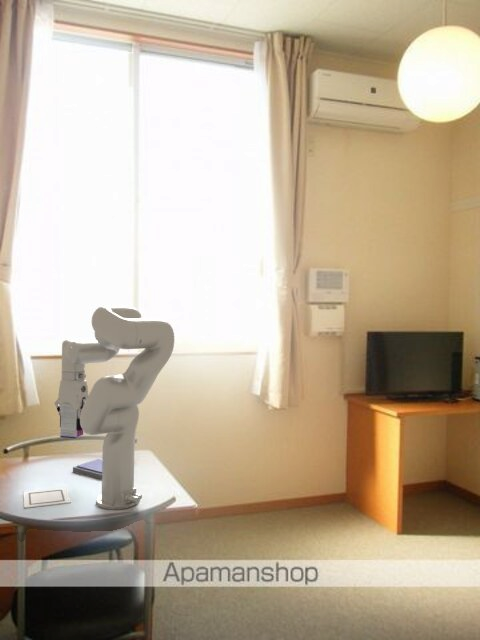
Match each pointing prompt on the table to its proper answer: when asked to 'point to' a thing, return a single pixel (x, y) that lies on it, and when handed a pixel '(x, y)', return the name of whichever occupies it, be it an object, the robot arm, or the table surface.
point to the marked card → (46, 497)
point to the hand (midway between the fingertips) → (72, 427)
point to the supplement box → (69, 422)
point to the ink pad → (90, 469)
